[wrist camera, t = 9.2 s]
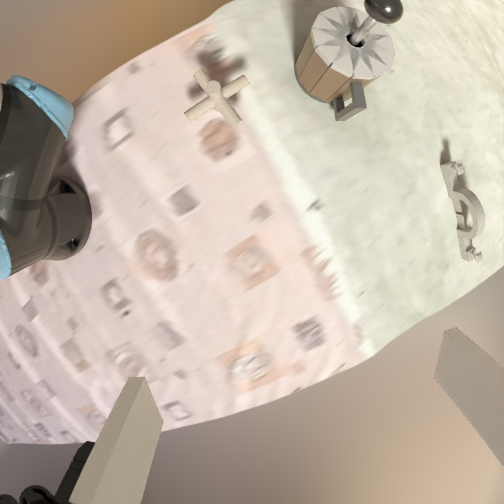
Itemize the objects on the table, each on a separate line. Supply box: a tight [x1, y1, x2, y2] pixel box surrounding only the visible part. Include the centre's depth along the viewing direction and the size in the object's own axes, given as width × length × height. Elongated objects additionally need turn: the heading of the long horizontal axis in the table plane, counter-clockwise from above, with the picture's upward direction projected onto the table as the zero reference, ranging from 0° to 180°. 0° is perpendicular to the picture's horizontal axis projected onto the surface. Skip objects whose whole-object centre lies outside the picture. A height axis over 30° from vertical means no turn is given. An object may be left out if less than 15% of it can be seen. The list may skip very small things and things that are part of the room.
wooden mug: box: [295, 6, 395, 121], centre depth 34 cm, size 11×14×14 cm
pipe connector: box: [184, 69, 250, 128], centre depth 37 cm, size 10×10×10 cm
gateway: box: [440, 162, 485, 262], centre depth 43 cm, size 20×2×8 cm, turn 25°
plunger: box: [348, 0, 403, 47], centre depth 27 cm, size 8×8×22 cm
